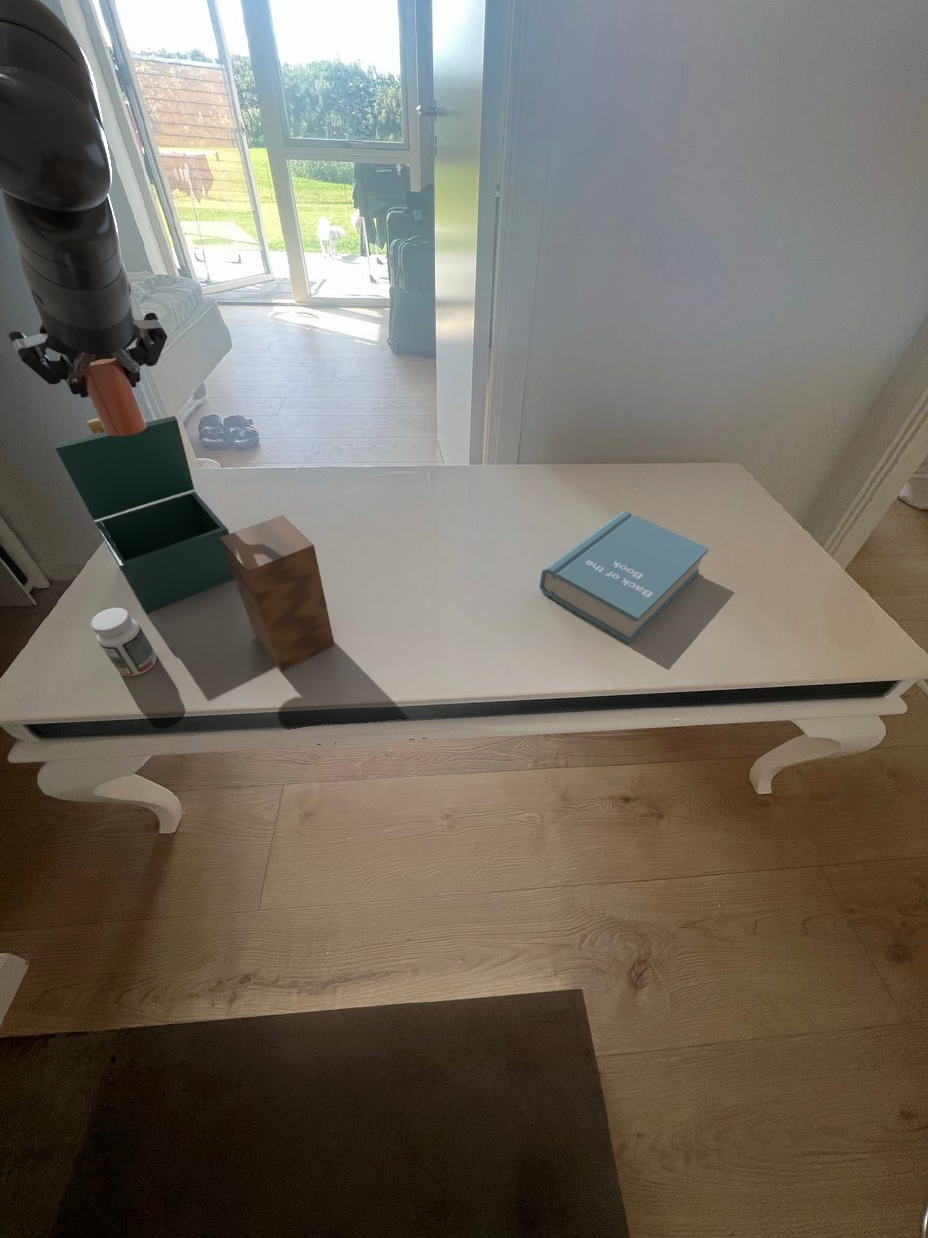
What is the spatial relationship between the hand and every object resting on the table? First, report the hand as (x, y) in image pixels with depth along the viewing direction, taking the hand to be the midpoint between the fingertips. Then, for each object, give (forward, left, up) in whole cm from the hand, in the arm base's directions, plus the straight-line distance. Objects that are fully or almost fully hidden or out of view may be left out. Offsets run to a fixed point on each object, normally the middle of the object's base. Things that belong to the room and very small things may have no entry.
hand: (105, 384), depth 61 cm
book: (+54, -43, -30) cm, 75 cm away
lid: (0, +6, -14) cm, 15 cm away
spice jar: (0, -2, -5) cm, 5 cm away
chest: (0, +2, -29) cm, 29 cm away
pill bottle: (-11, -14, -30) cm, 35 cm away
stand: (+7, -23, -29) cm, 38 cm away
